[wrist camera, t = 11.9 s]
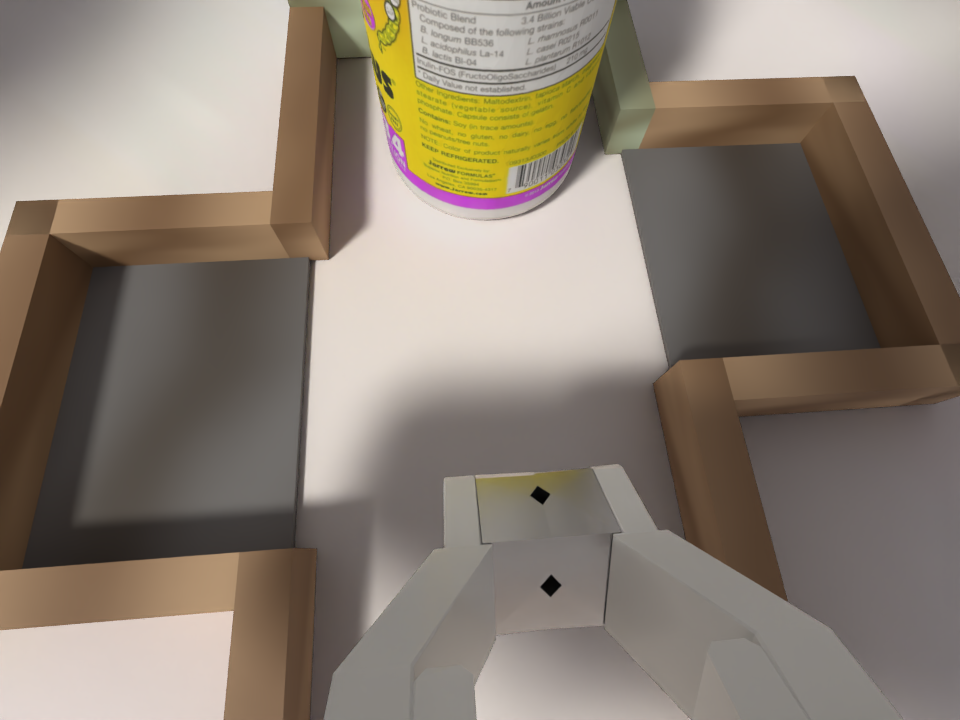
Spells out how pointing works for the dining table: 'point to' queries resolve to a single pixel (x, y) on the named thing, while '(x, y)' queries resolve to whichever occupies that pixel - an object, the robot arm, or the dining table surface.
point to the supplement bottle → (485, 95)
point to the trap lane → (282, 339)
